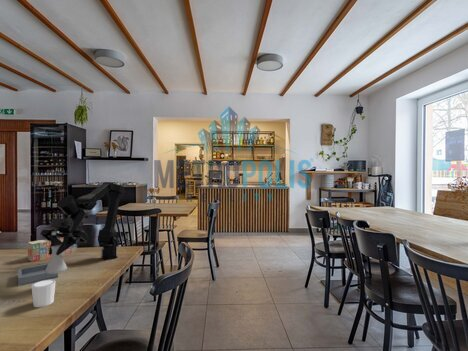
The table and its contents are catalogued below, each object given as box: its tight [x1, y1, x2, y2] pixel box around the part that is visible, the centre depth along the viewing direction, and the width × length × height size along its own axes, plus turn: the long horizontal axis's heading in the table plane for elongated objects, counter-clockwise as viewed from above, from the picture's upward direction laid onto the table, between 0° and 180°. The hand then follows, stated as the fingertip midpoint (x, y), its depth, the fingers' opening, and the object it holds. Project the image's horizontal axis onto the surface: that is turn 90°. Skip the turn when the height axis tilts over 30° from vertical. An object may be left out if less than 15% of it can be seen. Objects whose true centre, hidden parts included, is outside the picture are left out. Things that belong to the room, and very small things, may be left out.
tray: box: [17, 263, 59, 287], centre depth 112 cm, size 13×13×3 cm
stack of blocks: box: [27, 231, 78, 262], centre depth 141 cm, size 21×6×12 cm, turn 145°
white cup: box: [31, 278, 56, 308], centre depth 90 cm, size 7×7×7 cm
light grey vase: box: [45, 245, 68, 274], centre depth 103 cm, size 7×7×10 cm
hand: (53, 254), depth 102 cm, fingers closed on light grey vase, 3 cm apart
